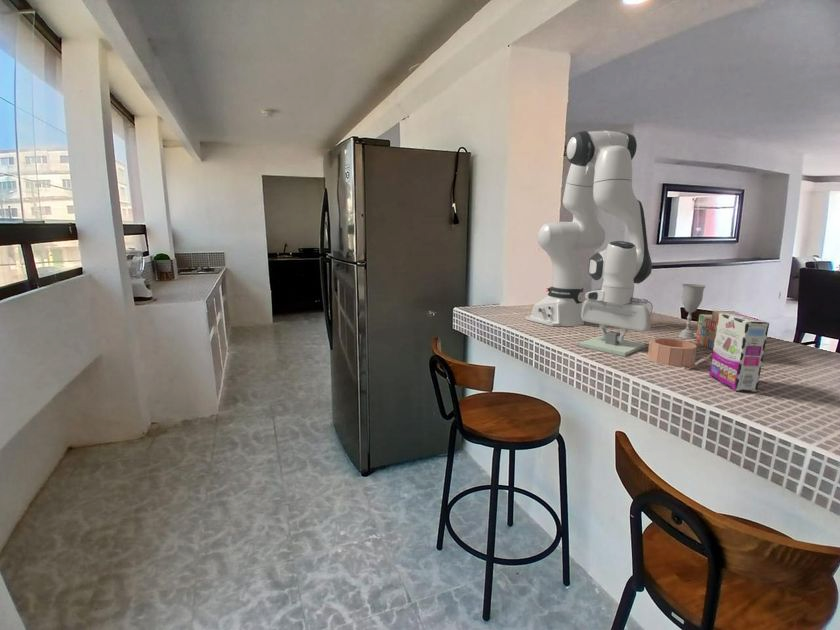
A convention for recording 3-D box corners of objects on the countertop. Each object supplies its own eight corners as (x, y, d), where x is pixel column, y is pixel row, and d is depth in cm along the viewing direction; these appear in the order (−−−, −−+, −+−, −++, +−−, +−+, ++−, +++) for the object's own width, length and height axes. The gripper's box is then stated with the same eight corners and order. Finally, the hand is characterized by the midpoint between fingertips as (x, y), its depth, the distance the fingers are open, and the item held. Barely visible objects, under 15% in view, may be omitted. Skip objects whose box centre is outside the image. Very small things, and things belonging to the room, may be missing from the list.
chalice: (699, 340, 142) (706, 287, 138) (675, 337, 145) (682, 285, 142) (697, 335, 148) (705, 284, 145) (675, 333, 151) (681, 283, 148)
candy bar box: (758, 393, 96) (771, 322, 93) (735, 391, 97) (746, 321, 94) (728, 376, 107) (739, 312, 104) (707, 375, 108) (717, 312, 104)
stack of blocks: (695, 341, 142) (700, 305, 139) (716, 342, 140) (721, 305, 138) (725, 360, 121) (732, 317, 119) (750, 361, 120) (757, 319, 118)
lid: (579, 345, 132) (580, 331, 131) (600, 338, 141) (601, 325, 140) (624, 355, 122) (626, 340, 121) (644, 347, 131) (646, 333, 130)
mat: (574, 347, 132) (574, 345, 132) (599, 339, 143) (599, 337, 142) (626, 359, 120) (626, 357, 120) (649, 349, 131) (649, 347, 131)
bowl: (641, 361, 119) (643, 342, 118) (656, 354, 126) (659, 336, 125) (685, 371, 111) (688, 351, 110) (699, 362, 118) (701, 343, 117)
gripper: (657, 299, 123) (652, 345, 125) (590, 291, 138) (586, 332, 140) (648, 301, 119) (643, 349, 121) (580, 292, 134) (576, 335, 136)
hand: (612, 340), depth 131 cm, fingers closed on lid, 3 cm apart
